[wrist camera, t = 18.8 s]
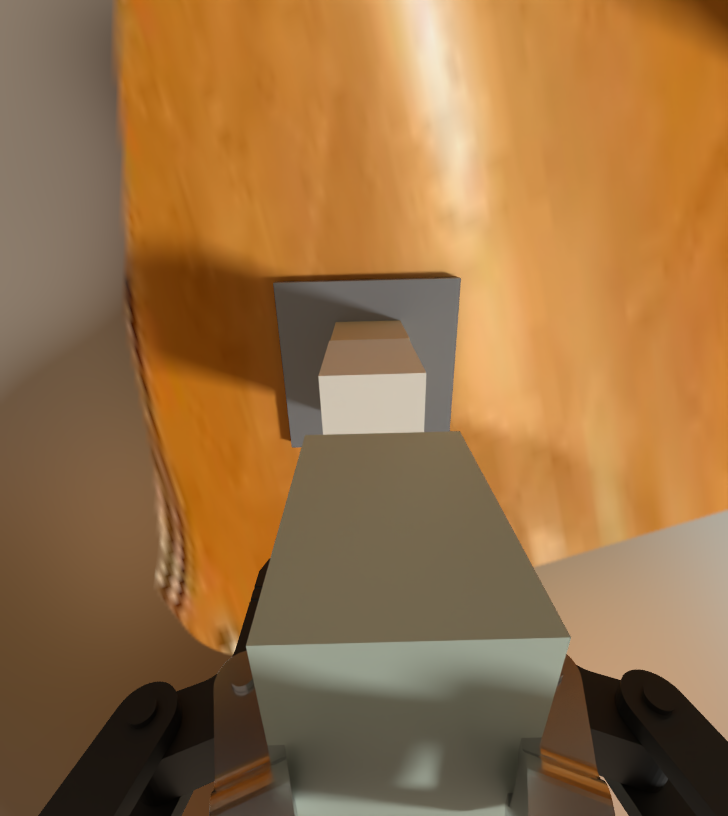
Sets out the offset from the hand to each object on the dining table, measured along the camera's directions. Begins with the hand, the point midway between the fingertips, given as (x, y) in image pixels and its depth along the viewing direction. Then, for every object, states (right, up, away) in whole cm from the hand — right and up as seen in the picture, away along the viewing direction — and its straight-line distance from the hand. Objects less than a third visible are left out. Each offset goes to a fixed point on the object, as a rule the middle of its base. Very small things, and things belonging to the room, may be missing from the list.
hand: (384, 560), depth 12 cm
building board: (0, +8, +20) cm, 21 cm away
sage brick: (0, 0, +1) cm, 1 cm away
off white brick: (0, +6, +13) cm, 14 cm away
